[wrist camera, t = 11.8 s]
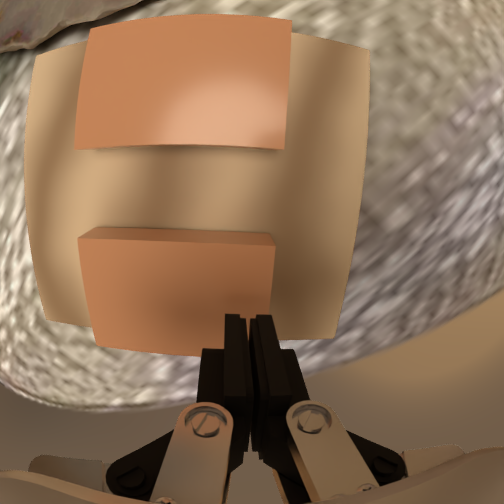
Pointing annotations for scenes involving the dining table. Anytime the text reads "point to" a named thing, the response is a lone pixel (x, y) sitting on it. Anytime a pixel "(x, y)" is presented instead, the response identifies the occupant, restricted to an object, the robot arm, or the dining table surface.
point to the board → (209, 186)
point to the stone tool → (48, 18)
